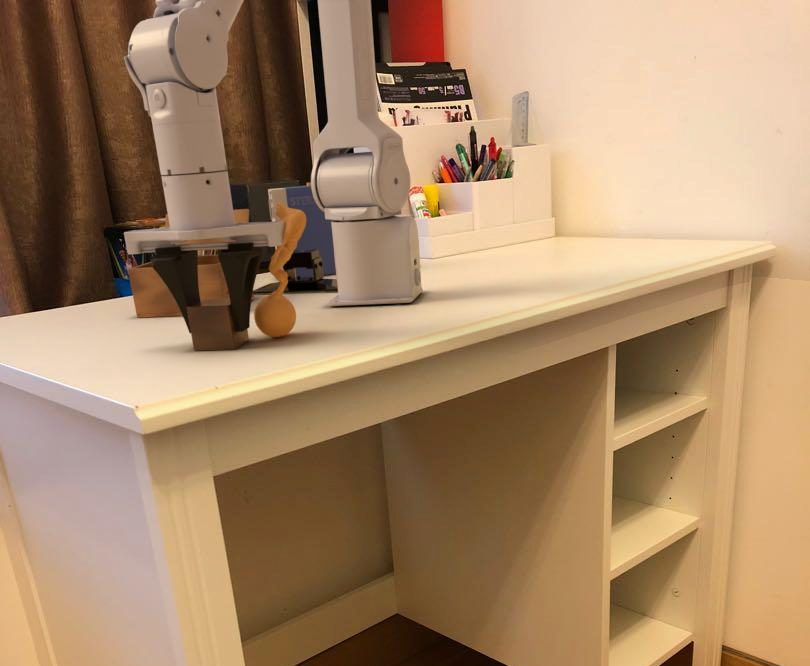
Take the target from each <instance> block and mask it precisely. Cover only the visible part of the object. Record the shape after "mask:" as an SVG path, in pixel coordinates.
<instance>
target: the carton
mask: <svg viewBox="0 0 810 666" xmlns="http://www.w3.org/2000/svg"><path fill="white" fill-rule="evenodd" d="M127 272H128V277H129V282H130V289H131V293H132V298H133V303H134V309H135V314H136V318H137V319H138V318H160V317H162V318H163V317H183V315H182V313H181V311H180V309H179V307H178V305H177V303H176V301H175V299H174V297H173V295H172V294H171V292H170V290H169V289H168V287H167V286H166V284H165V283H164V281H163V280H162V279H161V277H160V276H159V275H158V273H157V272H156V271H155V270H154V269H153V267H152V263H151V261H149V262H146V263H143V264H139V265H137V266H136V265H135V266H133V267H130V268H128V269H127ZM198 285H199V295H200V300H204V299H225V298H230V296H229V292H228V287H227V283H226V280H225V276H224V273H223V270H222V267H221V264H220V261H219V257H218V254H208V255H207V254H202V255H198ZM253 300H255V294H254V292H253V293H252V299H251V301H253Z"/></svg>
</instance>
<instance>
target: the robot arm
mask: <svg viewBox="0 0 810 666" xmlns="http://www.w3.org/2000/svg"><path fill="white" fill-rule="evenodd" d="M244 1H245V0H155V5H156V7H155V9H154V12H153V16H152V18H146V19H145V20H142V21H139V22H138V23H137V24H136V25H135V27H134V28H133V30H132V32H131V35H130V38H129V41H128V48H127V55H126V56H124V57H123V59H124V63H125V67H126V71H127V72H128V74H129V77H130V78H131V80H132V81H133V83H134V84H135V86H136V87H137V88H138V90H139V92H140V93H141V96H142V101H143V107H144V111H147V114H148V116H149V117H150V118H151V123H152V125H151V126H152V131H153V138H154V142H155V149H156V155H157V160H158V166H159V172H160V177H161V183H162V187H163V194H164V201H165V206H166V211H167V214H168V218H169V224H170V227H169V228H165V227H160V228H159V227H158V228H147V229H133V230H128V231H124V232H123V236H124V241H125V245H126V252H127V255H139V254H144V253H145V254H146V253H155V255H154V258H152V259H151V260H150V262H151V263H152V267H153V269H154V270H155V271H156V272H157V273H158V275H159V276H160V277H161V279H162V280H163V281H164V283H165V284H166V286H167V287H168V289H169V290H170V292H171V294H172V295H173V297H174V299H175V301H176V303H177V305H178V307H179V309H180V311H181V313H182V315H183V316H182V317H183V320H184V322H185V325H186V327H187V330H188V332H189V334H191V330H190V324H189V318H188V312H187V307H188V306H190V305H193V304H195V303H197V302H199V301H201V300H200V295H199V285H198V256H199V251H198V250H201V251H203V250H202V249H219V250H221V249H220V248H228V249H227V250H225V251H222V252H219V253H218V254H217V255H218V257H219V261H220V264H221V267H222V270H223V273H224V276H225V280H226V283H227V287H228V292H229V296H230V303H231V312H232V318H233V322H234V326H235V330H236V332H242V331H244V330H246V329H249V328H250V326H251V325H250V324H251V323H250V320H251V307H252V300H251V299H252V293H253V291H254V287H255V283H256V278H257V274H258V271H259V268H260V266H261V263H262V260H263V257H264V248H262V247H269V248H271V247H275V246H281V245H282V240H283V234H284V232H285V230H284V222H283V221H278V222H272V221H255V222H254V221H252V222H249V223H235V220H234V213H233V210H234V206H233V199H232V192H231V186H230V179H229V172H228V164H227V159H226V151H225V143H224V137H223V130H222V123H221V115H220V109H219V103H218V102H219V101H218V95H217V94H218V93H217V89H216V87H217V86H218V85H220V83H221V82H222V80H223V78H225V77H226V75H227V73H228V66H229V65H228V64H229V58H228V57H229V56H228V42H229V39H230V36H229V34H230V30H231V28H232V26H233V24H234V22H235V20H236V18H237V16H238V13H239V11H240V10H241V7H242V5H243V3H244ZM317 9H318V19H319V20H318V21H319V32H320V42H321V52H322V54H321V55H322V67H323V76H324V87H325V98H326V109H327V123H326V125H325V126H324V128H323V129H322V130H321V132H320V133H319V134H318V136H317V137H316V138H315V140H313V143H312V151H313V165H312V168H311V169H312V170H311V174H310V183H311V189H312V194H313V197H314V199H315V202H316V204H317V205H318V207H319V208H320V209H321V210H322V211H323V212H325V219H326V220H331V227H332V237H333V247H334V256H335V266H336V274H335V275H336V279H337V285H338V292H337V293H338V295H336V296H335V297H334V298H333V297H332V299H330V300H329V301H328V302H327V304H328V306H329V307H337V306H339V307H341V306H361V305H363V306H365V305H386V304H387V305H388V304H389V305H390V304H391V305H392V304H409V303H413V302H414V300H415V299H416V298H417V297H418V296H419V295H420V294H421V293H422V292H423V287H422V273H421V272H422V271H421V258H420V241H419V232H418V231H419V230H418V225H417V220H416V218H415V217H414V216H412V215H403V214H402V209H403V208H404V207H405V205H406V204H407V201H408V199H409V195H410V191H411V173H410V168H409V166H408V163H407V161H406V157H405V152H404V143H403V137H402V136H401V135H400V134H399V133H398V132H397V131H396V130H395V129H393V128H391V126H389V125H388V124H386V123H385V122H384V121H383V120H382V119H380V117H379V104H378V103H379V101H378V88H377V74H376V60H375V58H376V57H375V45H374V43H375V42H374V30H373V29H374V27H373V16H372V15H373V13H372V0H317ZM354 148H366V149H368V150H369V151H363V152H361V151H360V152H348V151H349V150H351V149H354ZM347 152H348V153H347ZM400 215H403V216H400ZM211 238H222V241H231V242H213V243H196V244H179V243H183V242H187V241H189V240H199V239H211ZM232 240H235V241H232ZM175 244H178V245H175ZM285 244H286V243H285Z"/></svg>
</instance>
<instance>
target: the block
mask: <svg viewBox="0 0 810 666" xmlns="http://www.w3.org/2000/svg"><path fill="white" fill-rule="evenodd" d="M187 312H188V318H189V324H190V330H191V333H190V335H191V341H192V345H193V351H194V352H199V351H200V352H201V351H202V352H203V351H204V352H205V351H230V350H234V351H235V350H236V349H237V348H240V346H242V345H244V344H245V343H247V342H248V341H250V337H249V331H248V329H249V328H248V329H246V330H244V331H242V332H236V330H235V326H234V322H233V318H232V312H231V303H230V298H225V299H204V300H201V301H199V302H197V303H195V304H193V305H190V306H188V307H187Z"/></svg>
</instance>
